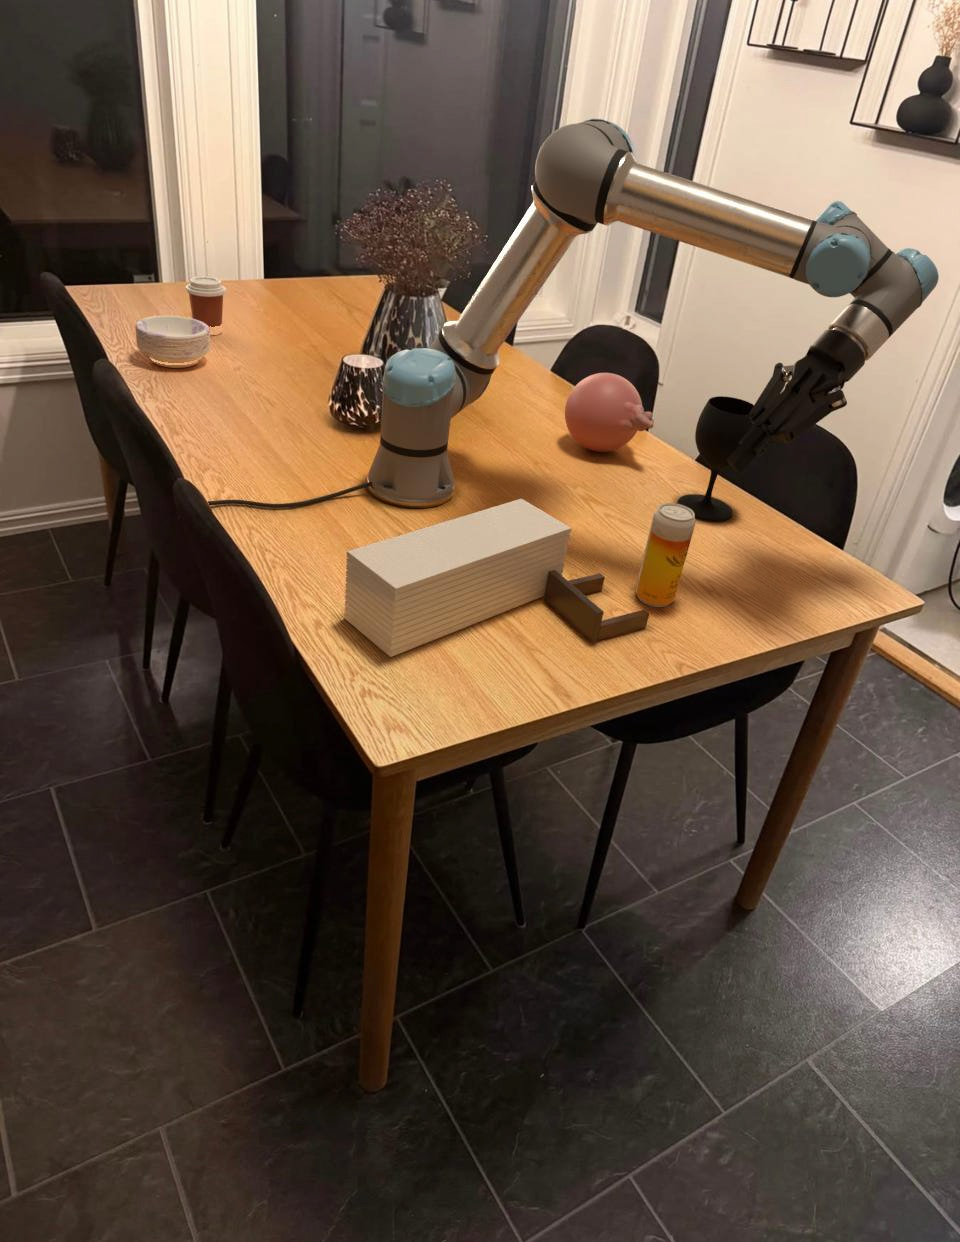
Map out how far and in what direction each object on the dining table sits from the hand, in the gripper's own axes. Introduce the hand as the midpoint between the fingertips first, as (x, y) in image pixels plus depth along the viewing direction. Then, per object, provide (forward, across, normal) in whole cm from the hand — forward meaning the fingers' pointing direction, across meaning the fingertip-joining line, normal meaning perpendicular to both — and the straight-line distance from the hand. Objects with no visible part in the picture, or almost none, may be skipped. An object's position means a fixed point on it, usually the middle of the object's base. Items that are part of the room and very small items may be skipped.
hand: (733, 466), depth 134 cm
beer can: (+21, 0, -8) cm, 23 cm away
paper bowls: (+49, +117, +20) cm, 129 cm away
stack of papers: (+42, +10, +13) cm, 45 cm away
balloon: (+2, +48, -27) cm, 55 cm away
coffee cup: (+40, +136, +11) cm, 142 cm away
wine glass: (0, +21, -30) cm, 36 cm away
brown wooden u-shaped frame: (+29, 0, 0) cm, 29 cm away
